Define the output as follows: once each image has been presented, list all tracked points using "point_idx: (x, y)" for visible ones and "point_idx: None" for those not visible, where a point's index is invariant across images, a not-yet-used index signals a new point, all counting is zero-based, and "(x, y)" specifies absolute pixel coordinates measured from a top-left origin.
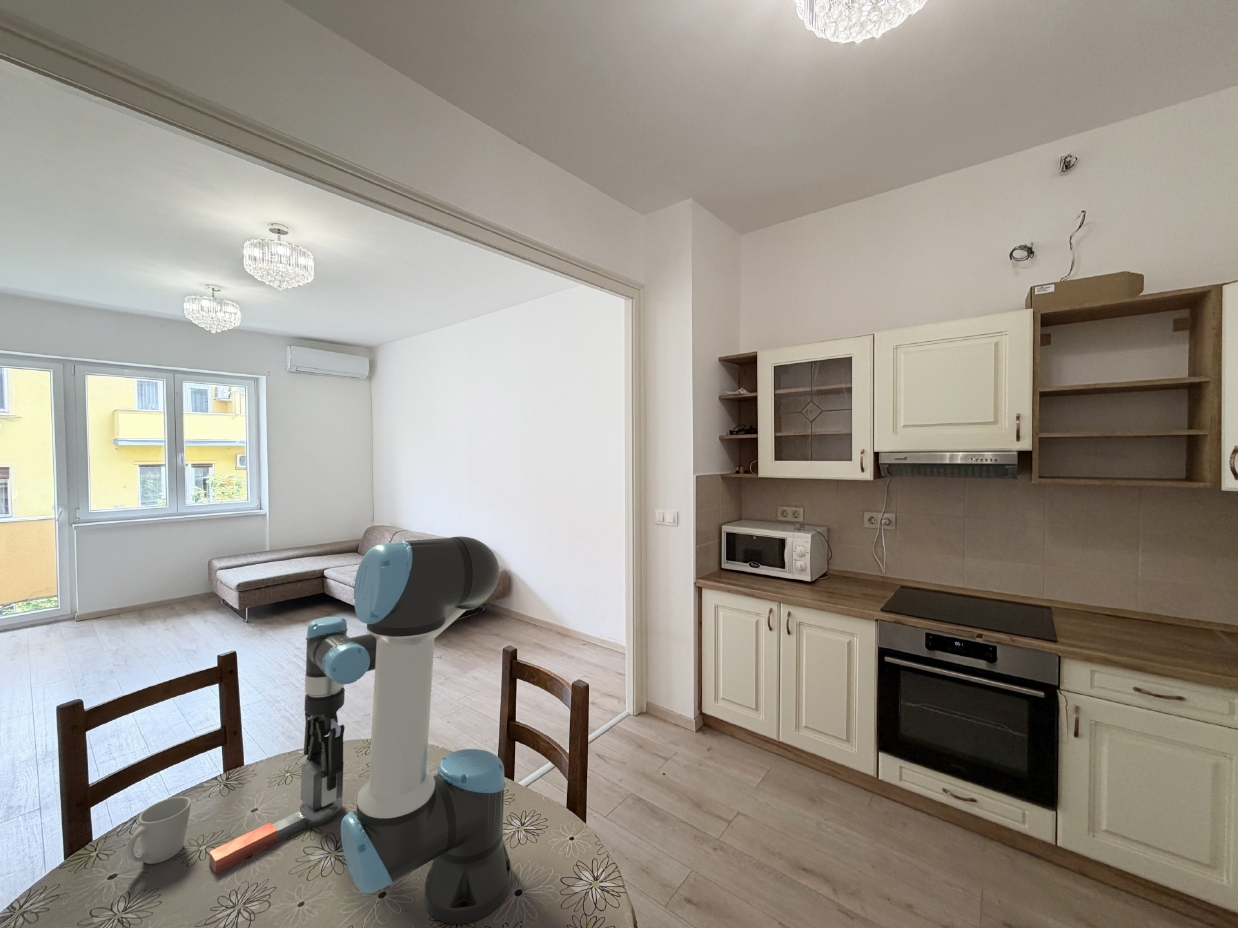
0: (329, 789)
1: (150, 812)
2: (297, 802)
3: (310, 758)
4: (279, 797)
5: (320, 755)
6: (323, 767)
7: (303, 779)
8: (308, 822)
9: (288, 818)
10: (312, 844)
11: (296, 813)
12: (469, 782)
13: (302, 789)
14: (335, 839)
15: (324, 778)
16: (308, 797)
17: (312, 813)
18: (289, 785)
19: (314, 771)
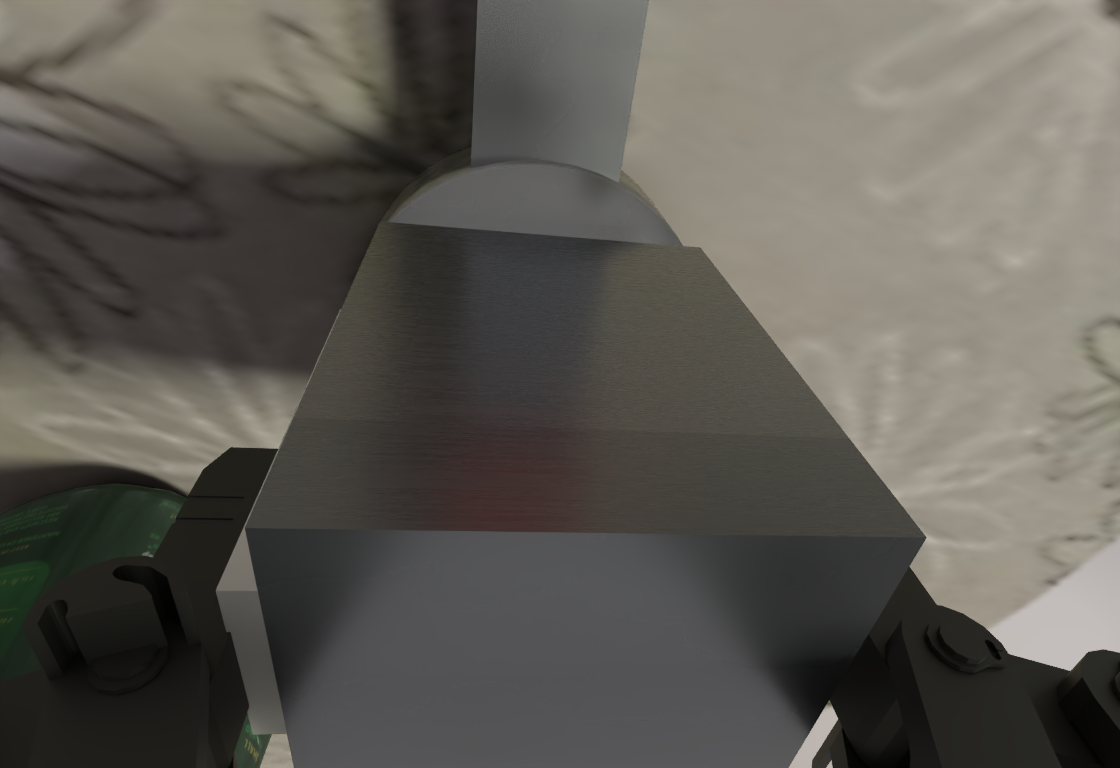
0: (216, 464)
1: None
2: (831, 263)
3: (902, 674)
4: (1034, 212)
5: (832, 745)
6: (403, 692)
7: (717, 369)
8: (442, 168)
9: (599, 46)
10: (147, 47)
11: (608, 142)
12: None
13: (695, 296)
14: (77, 207)
15: (242, 553)
16: (505, 271)
17: (431, 222)
18: (1069, 325)
19: (392, 575)
